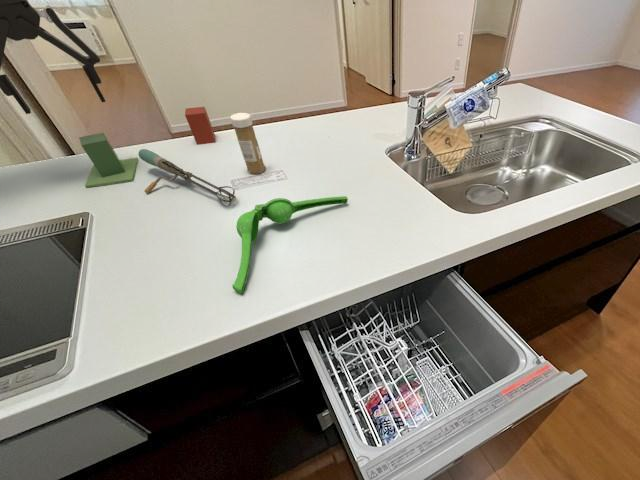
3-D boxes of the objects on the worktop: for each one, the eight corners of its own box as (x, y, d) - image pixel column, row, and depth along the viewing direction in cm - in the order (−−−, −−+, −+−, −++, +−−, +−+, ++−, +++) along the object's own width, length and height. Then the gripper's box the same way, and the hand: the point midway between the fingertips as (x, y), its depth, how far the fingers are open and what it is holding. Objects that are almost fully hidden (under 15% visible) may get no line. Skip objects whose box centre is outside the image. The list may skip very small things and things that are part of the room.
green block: (100, 169, 88) (78, 137, 82) (122, 164, 90) (103, 132, 84) (102, 177, 85) (80, 145, 79) (125, 172, 87) (106, 139, 81)
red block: (197, 137, 103) (185, 108, 97) (215, 135, 104) (204, 106, 98) (197, 144, 99) (184, 115, 94) (215, 142, 101) (204, 112, 95)
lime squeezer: (242, 295, 60) (230, 269, 56) (195, 272, 64) (180, 246, 59) (350, 204, 80) (348, 179, 76) (310, 190, 84) (305, 165, 79)
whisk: (219, 236, 78) (200, 219, 72) (128, 186, 87) (105, 167, 81) (248, 201, 81) (232, 182, 75) (158, 156, 90) (137, 136, 84)
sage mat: (95, 165, 90) (94, 163, 90) (138, 159, 93) (137, 157, 92) (86, 188, 83) (84, 185, 82) (133, 181, 85) (131, 178, 85)
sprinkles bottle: (269, 168, 91) (254, 114, 81) (257, 176, 88) (240, 120, 78) (255, 164, 92) (239, 110, 82) (243, 172, 89) (225, 116, 79)
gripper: (-124, -22, 53) (-7, 123, 69) (71, -26, 63) (134, 100, 79) (-114, -28, 57) (-6, 111, 73) (68, -31, 67) (128, 91, 83)
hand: (67, 105), depth 76 cm, fingers open, 13 cm apart
